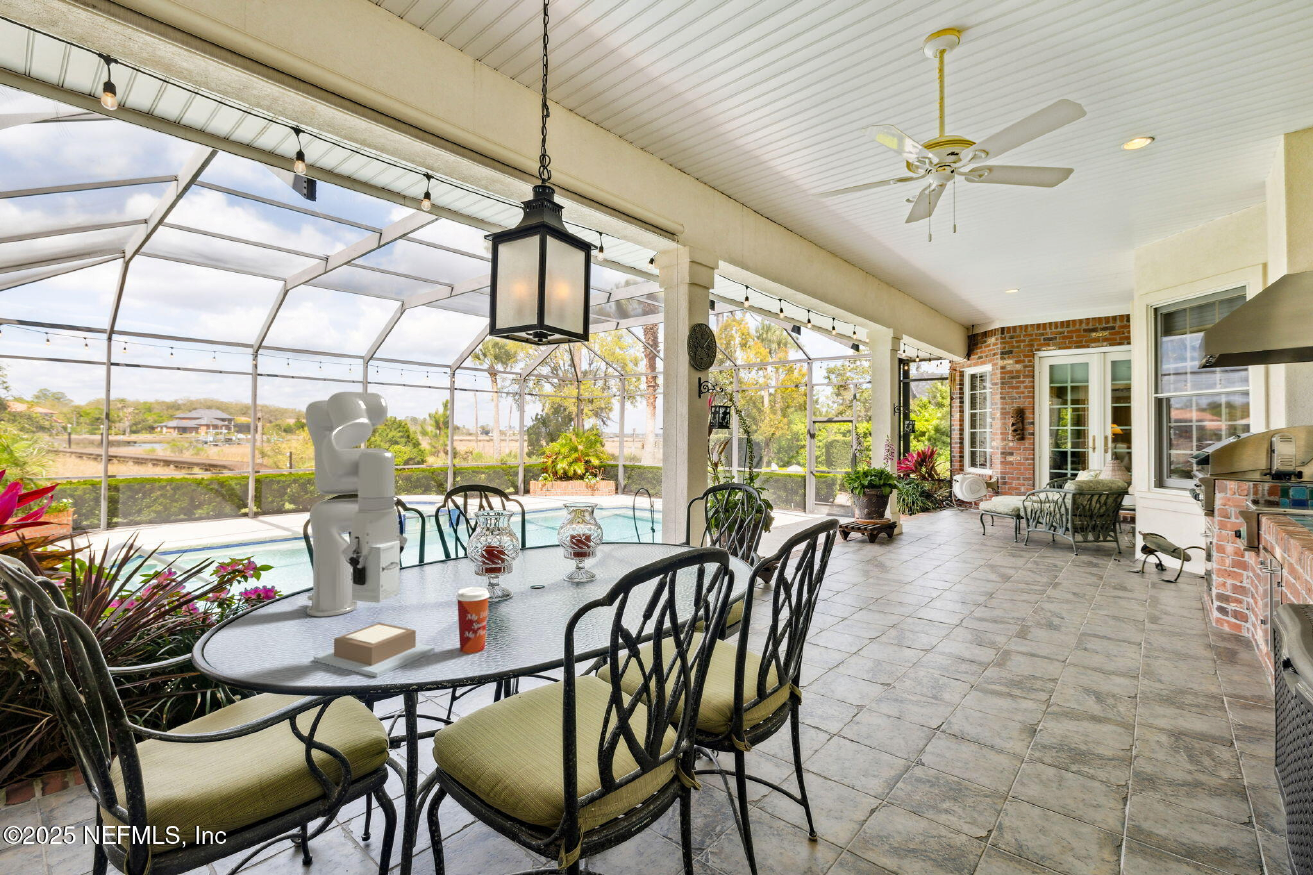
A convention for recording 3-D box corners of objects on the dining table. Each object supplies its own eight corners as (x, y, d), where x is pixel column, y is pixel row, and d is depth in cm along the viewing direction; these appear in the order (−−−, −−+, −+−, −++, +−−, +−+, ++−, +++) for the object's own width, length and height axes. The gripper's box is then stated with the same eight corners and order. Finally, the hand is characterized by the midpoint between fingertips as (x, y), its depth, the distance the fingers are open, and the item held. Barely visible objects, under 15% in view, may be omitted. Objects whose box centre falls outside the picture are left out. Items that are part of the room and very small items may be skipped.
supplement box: (379, 603, 129) (379, 547, 128) (350, 600, 130) (350, 545, 130) (400, 594, 136) (400, 540, 136) (372, 591, 137) (373, 538, 137)
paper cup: (470, 657, 133) (471, 597, 132) (448, 650, 137) (449, 591, 136) (496, 647, 139) (497, 589, 139) (474, 640, 143) (475, 584, 143)
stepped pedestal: (313, 660, 130) (313, 637, 130) (374, 637, 144) (374, 616, 144) (377, 677, 122) (377, 652, 122) (434, 651, 136) (434, 629, 136)
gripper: (395, 499, 142) (395, 569, 142) (330, 507, 126) (329, 587, 126) (418, 501, 139) (417, 573, 139) (354, 510, 123) (353, 591, 123)
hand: (376, 579), depth 133 cm, fingers closed on supplement box, 8 cm apart
